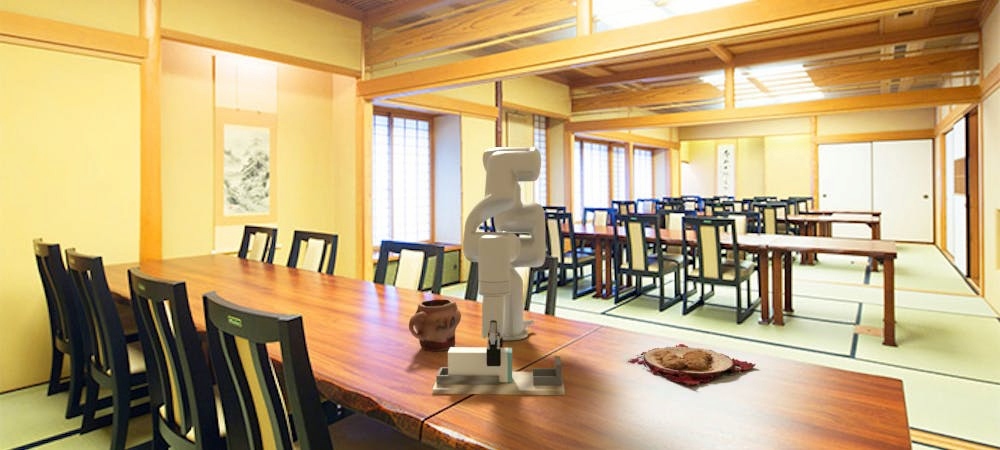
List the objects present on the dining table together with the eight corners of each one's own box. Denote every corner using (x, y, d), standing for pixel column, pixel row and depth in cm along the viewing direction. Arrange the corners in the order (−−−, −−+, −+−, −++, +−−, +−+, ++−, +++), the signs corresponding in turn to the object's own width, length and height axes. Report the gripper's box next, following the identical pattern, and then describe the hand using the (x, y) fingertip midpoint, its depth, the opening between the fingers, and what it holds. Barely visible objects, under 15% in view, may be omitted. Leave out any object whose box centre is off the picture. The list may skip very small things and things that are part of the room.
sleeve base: (432, 393, 116) (432, 380, 115) (441, 374, 128) (441, 363, 127) (564, 395, 114) (564, 382, 114) (561, 376, 126) (561, 364, 126)
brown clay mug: (430, 361, 138) (429, 311, 137) (396, 355, 144) (395, 306, 143) (470, 342, 155) (470, 297, 154) (438, 337, 161) (438, 294, 160)
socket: (533, 385, 117) (533, 364, 117) (533, 376, 123) (532, 355, 123) (561, 385, 117) (561, 364, 117) (559, 376, 123) (559, 356, 123)
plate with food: (756, 371, 130) (757, 358, 130) (689, 389, 117) (690, 374, 117) (681, 349, 151) (681, 337, 151) (617, 362, 138) (617, 349, 138)
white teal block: (448, 381, 119) (447, 352, 119) (450, 375, 123) (450, 347, 123) (511, 382, 119) (511, 352, 118) (512, 376, 123) (512, 347, 122)
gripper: (481, 281, 128) (482, 348, 129) (474, 294, 111) (475, 371, 112) (511, 281, 128) (511, 348, 129) (509, 294, 111) (509, 371, 111)
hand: (495, 359), depth 120 cm, fingers open, 9 cm apart
